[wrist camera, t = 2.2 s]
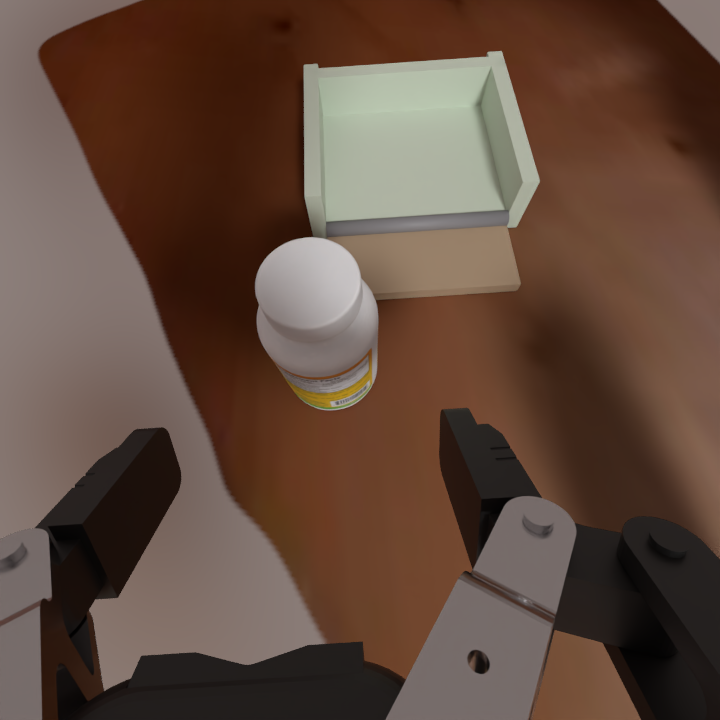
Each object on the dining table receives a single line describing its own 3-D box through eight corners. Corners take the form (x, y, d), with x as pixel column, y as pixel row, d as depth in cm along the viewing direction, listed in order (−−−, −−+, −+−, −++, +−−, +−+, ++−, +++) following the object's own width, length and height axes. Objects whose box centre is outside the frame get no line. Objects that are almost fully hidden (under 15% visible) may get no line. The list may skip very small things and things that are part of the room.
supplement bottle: (308, 317, 25) (270, 206, 15) (388, 342, 24) (398, 240, 15) (273, 395, 23) (208, 320, 14) (359, 424, 22) (351, 366, 13)
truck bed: (486, 106, 31) (501, 51, 27) (531, 290, 25) (560, 251, 21) (312, 118, 31) (303, 64, 27) (314, 303, 25) (304, 267, 21)
